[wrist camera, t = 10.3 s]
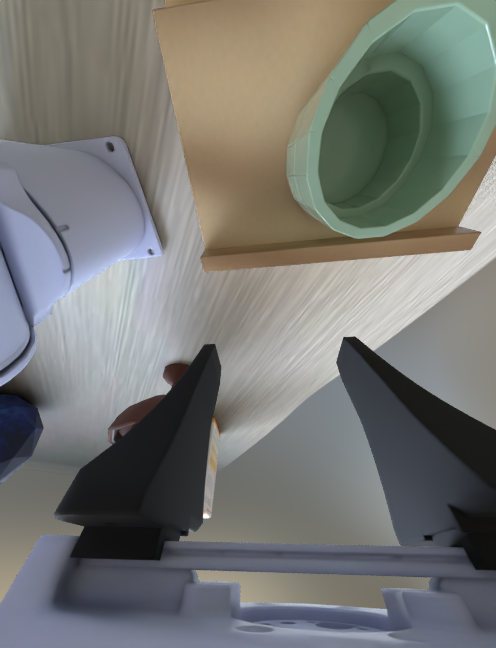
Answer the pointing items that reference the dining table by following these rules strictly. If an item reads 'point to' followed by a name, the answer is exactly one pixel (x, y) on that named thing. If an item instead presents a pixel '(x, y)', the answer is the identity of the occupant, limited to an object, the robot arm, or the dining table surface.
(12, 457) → the decorative orb
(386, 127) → the green cup
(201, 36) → the shelf
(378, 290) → the dining table surface
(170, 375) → the ice cream bowl
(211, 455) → the supplement box
